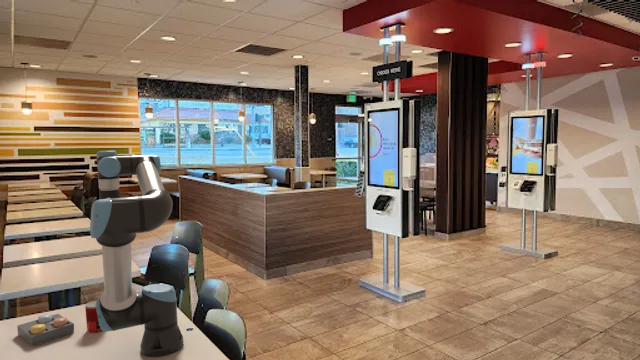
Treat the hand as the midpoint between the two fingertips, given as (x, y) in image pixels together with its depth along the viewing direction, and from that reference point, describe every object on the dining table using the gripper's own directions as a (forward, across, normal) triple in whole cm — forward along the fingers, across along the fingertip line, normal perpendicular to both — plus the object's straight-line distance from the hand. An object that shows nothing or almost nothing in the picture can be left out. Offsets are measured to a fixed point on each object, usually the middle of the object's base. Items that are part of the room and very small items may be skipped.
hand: (113, 246), depth 180 cm
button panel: (+34, +21, -18) cm, 44 cm away
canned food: (+35, +6, -6) cm, 36 cm away
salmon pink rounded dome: (+32, +17, -14) cm, 39 cm away
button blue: (+32, +20, -23) cm, 44 cm away
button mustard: (+32, +25, -14) cm, 43 cm away
